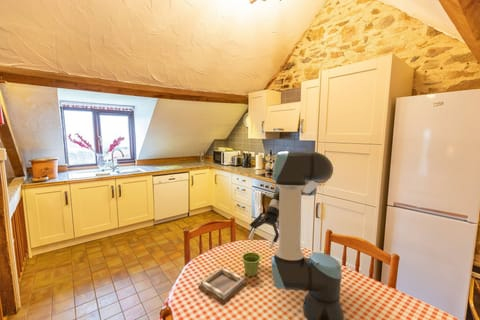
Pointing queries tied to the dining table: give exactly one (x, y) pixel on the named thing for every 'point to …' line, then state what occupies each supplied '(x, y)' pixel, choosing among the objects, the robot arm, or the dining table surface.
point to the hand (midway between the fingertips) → (259, 243)
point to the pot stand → (222, 284)
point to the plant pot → (251, 263)
